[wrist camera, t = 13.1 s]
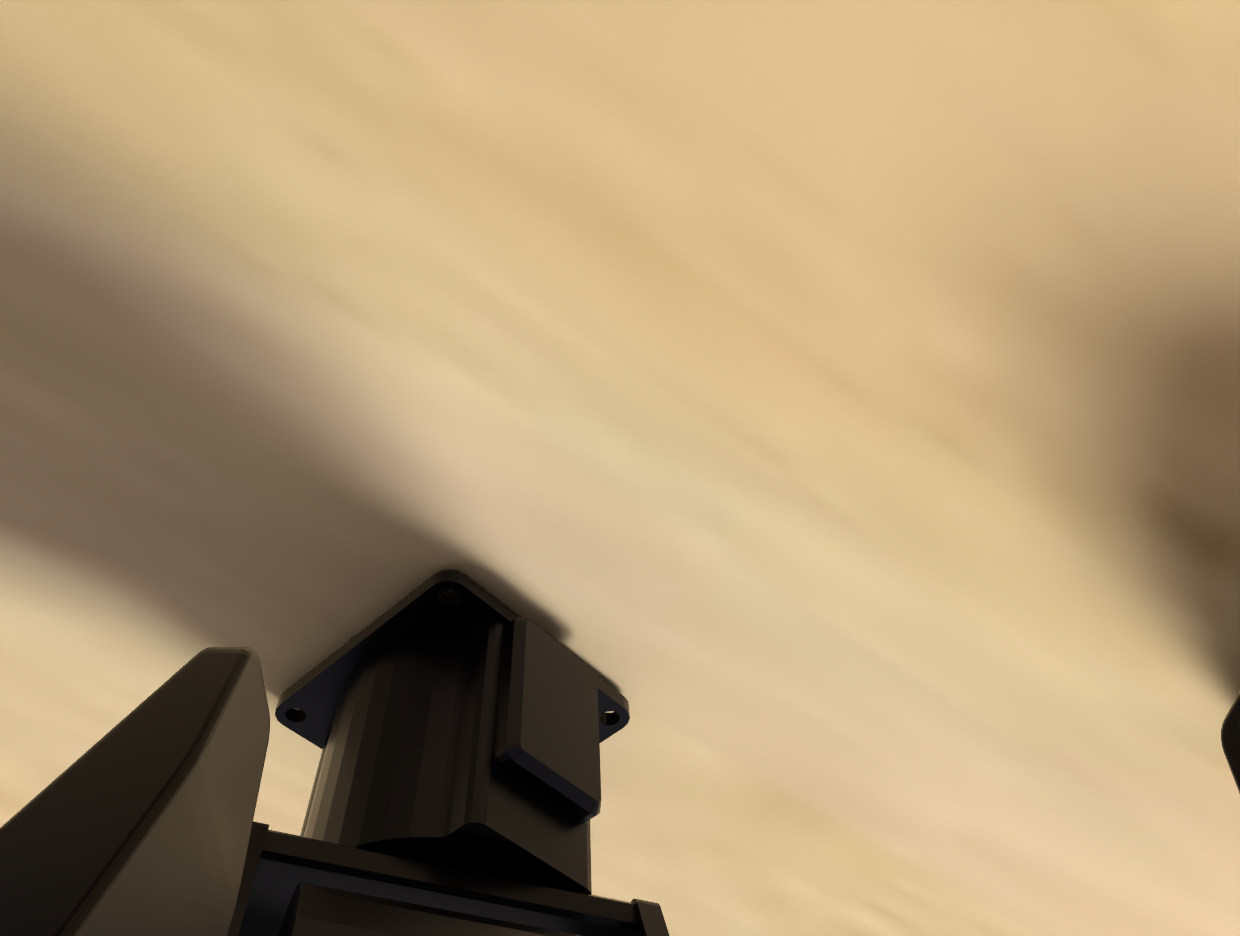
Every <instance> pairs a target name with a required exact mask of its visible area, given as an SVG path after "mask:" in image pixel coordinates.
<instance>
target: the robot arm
mask: <svg viewBox="0 0 1240 936" xmlns="http://www.w3.org/2000/svg"><path fill="white" fill-rule="evenodd" d="M445 589H452V590H454V591H456V592H458V593H457V594H455V595H448V594H446V593H443V592H442V591H443V590H445ZM294 708H299V709H301V710H296V709H294ZM607 711H614V712H613V713H605V712H607ZM275 716H276V718H277V720H278V721H279V722H280V723H281V724H283V725H284V726H286V727H287V728H289V729H290V730H292V731H294V732H295V733H297V734H299V735H300V736H302V737H303V738H305V739H307V740H308V741H310V742H312V743H313V744H315V745H316V746H318V747H320V748H321V749H323V750H322V754H321V758H320V762H319V766H318V770H317V773H316V777H315V781H314V785H313V789H312V793H311V797H310V801H309V804H308V808H307V812H306V816H305V820H304V824H303V828H302V831H301V835H300V836H297V835H292V834H287V833H282V832H277V831H272V830H268V827H269V825H268V824H263V823H258V822H253V818H254V812H255V807H256V802H257V797H258V792H259V787H260V782H261V777H262V772H263V767H264V762H265V757H266V751H267V746H268V741H269V733H270V714H269V708H268V703H267V697H266V692H265V687H264V681H263V676H262V671H261V665H260V661H259V657H258V655H257V654H256V652H255V651H254V650H253V649H251V648H247V647H210V648H206V649H204V650H202V651H201V652H199V653H198V654H197V655H196V656H195V657H193V658H192V659H191V660H190V661H189V662H188V663H187V664H185V665H184V666H183V667H182V668H181V669H180V670H179V671H178V672H176V673H175V674H174V675H173V676H172V677H171V678H170V679H169V680H167V681H166V682H165V683H164V684H163V685H162V686H161V687H159V688H158V689H157V690H156V691H155V692H154V693H153V694H152V695H150V696H149V697H148V698H147V699H146V700H145V701H144V702H142V703H141V704H140V705H139V706H138V707H137V708H136V709H135V710H133V711H132V712H131V713H130V714H129V715H128V716H127V717H125V718H124V719H123V720H122V721H121V722H120V723H119V724H118V725H116V726H115V727H114V728H113V729H112V730H111V731H110V732H108V733H107V734H106V735H105V736H104V737H103V738H102V739H101V740H99V741H98V742H97V743H96V744H95V745H94V746H93V747H91V748H90V749H89V750H88V751H87V752H86V753H85V754H84V755H82V756H81V757H80V758H79V759H78V760H77V761H76V762H74V763H73V764H72V765H71V766H70V767H69V768H68V769H67V770H65V771H64V772H63V773H62V774H61V775H60V776H59V777H57V778H56V779H55V780H54V781H53V782H52V783H51V784H50V785H48V786H47V787H46V788H45V789H44V790H43V791H42V792H40V793H39V794H38V795H37V796H36V797H35V798H34V799H33V800H31V801H30V802H29V803H28V804H27V805H26V806H25V807H23V808H22V809H21V810H20V811H19V812H18V813H17V814H16V815H14V816H13V817H12V818H11V819H10V820H9V821H8V822H6V823H5V824H4V825H3V826H2V827H1V828H0V936H669V933H668V930H667V927H666V923H665V920H664V917H663V914H662V910H661V907H660V905H659V904H658V903H653V902H648V901H643V900H638V899H633V900H632V901H631V903H630V902H625V901H620V900H615V899H610V898H605V897H600V896H595V895H591V848H590V819H591V818H593V817H594V816H596V815H598V814H599V813H600V808H601V780H600V748H599V743H601V742H602V741H604V740H605V739H607V738H608V737H610V736H611V735H613V734H614V733H616V732H618V731H619V730H621V729H622V728H623V727H625V726H626V725H627V724H628V721H629V719H630V716H629V704H628V701H627V699H626V698H625V697H624V696H623V695H621V694H620V693H619V692H617V691H616V690H615V689H614V688H612V687H611V686H610V685H608V684H607V683H606V682H604V681H603V680H602V679H601V678H599V677H598V676H597V673H596V672H595V671H594V670H593V669H592V668H591V667H589V666H588V665H587V664H585V663H584V662H583V661H582V660H580V659H579V658H578V657H576V656H575V655H574V654H572V653H571V652H570V651H569V650H567V649H566V648H565V647H563V646H562V645H561V644H560V643H558V642H557V641H556V640H554V639H553V638H552V637H550V636H549V635H548V634H547V633H545V632H544V631H543V630H541V629H540V628H539V627H537V626H536V625H535V624H534V623H532V622H531V621H530V620H527V619H524V618H521V617H520V616H519V615H517V614H516V613H515V612H513V611H512V610H511V609H510V608H508V607H507V606H506V605H504V604H503V603H502V602H500V601H499V600H498V599H497V598H495V597H494V596H493V595H491V594H490V593H489V592H487V591H486V590H485V589H484V588H482V587H481V586H480V585H478V584H477V583H476V582H474V581H473V580H472V579H471V578H469V577H468V576H467V575H465V574H463V573H461V572H459V571H455V570H444V571H440V572H438V573H436V574H435V575H433V576H432V577H431V578H429V579H428V580H427V581H426V582H424V583H423V584H422V585H420V586H419V587H418V588H417V589H415V590H414V591H413V592H412V593H410V594H409V595H408V596H406V597H405V598H404V599H403V600H401V601H400V602H399V603H397V604H396V605H395V606H394V607H392V608H391V609H390V610H389V611H387V612H386V613H385V614H383V615H382V616H381V617H380V618H378V619H377V620H376V621H374V622H373V623H372V624H371V625H369V626H368V627H367V628H366V629H364V630H363V631H362V632H360V633H359V634H358V635H357V636H355V637H354V638H353V639H351V640H350V641H349V642H348V643H346V644H345V645H344V646H343V647H341V648H340V649H339V650H337V651H336V652H335V653H334V654H332V655H331V656H330V657H328V658H327V659H326V660H325V661H323V662H322V663H321V664H320V665H318V666H317V667H316V668H314V669H313V670H312V671H311V672H309V673H308V674H307V675H305V676H304V677H303V678H302V679H300V680H299V681H298V682H297V683H295V684H294V685H293V686H291V687H290V688H289V689H288V690H286V691H285V692H284V693H283V694H282V695H281V696H280V698H279V701H278V704H277V707H276V712H275ZM1221 741H1222V747H1223V750H1224V754H1225V756H1226V759H1227V761H1228V764H1229V767H1230V769H1231V772H1232V774H1233V777H1234V780H1235V782H1236V785H1237V787H1238V790H1239V793H1240V692H1239V694H1238V696H1237V698H1236V699H1235V701H1234V703H1233V705H1232V707H1231V708H1230V710H1229V712H1228V714H1227V716H1226V717H1225V719H1224V722H1223V724H1222V729H1221Z"/></svg>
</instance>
